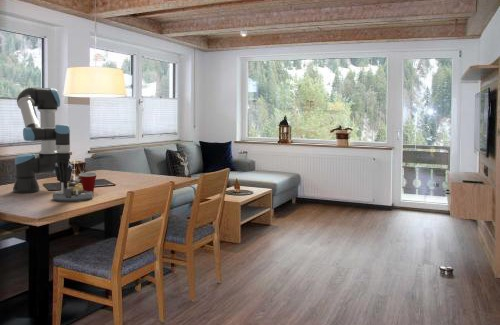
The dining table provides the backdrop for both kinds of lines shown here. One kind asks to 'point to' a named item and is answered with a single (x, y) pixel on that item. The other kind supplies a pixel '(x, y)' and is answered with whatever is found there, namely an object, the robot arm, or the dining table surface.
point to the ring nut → (73, 188)
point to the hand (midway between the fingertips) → (64, 193)
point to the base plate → (73, 196)
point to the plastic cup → (88, 180)
